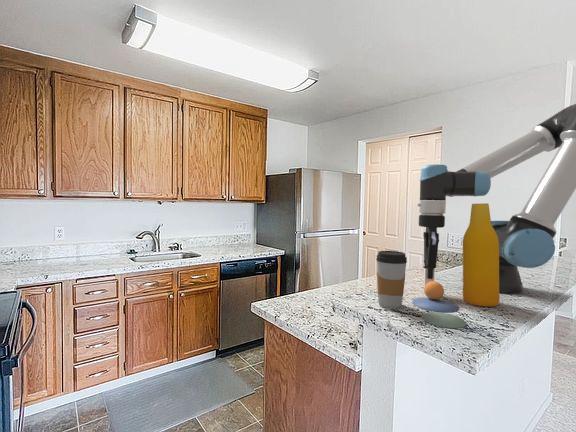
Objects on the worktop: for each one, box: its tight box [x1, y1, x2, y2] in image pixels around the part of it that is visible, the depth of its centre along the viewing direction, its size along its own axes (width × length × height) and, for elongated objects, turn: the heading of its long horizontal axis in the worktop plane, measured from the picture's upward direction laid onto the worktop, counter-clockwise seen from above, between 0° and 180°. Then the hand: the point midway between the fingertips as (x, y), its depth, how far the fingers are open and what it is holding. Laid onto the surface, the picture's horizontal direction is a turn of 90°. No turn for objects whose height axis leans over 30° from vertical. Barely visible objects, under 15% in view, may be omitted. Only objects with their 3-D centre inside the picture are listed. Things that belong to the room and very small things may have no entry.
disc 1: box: [412, 297, 459, 313], centre depth 91 cm, size 12×12×1 cm
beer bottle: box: [462, 203, 501, 307], centre depth 93 cm, size 9×9×29 cm
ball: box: [423, 280, 445, 300], centre depth 96 cm, size 6×6×6 cm
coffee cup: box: [375, 250, 408, 310], centre depth 90 cm, size 8×8×15 cm
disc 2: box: [421, 311, 467, 329], centre depth 80 cm, size 10×10×1 cm
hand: (428, 287), depth 102 cm, fingers closed
